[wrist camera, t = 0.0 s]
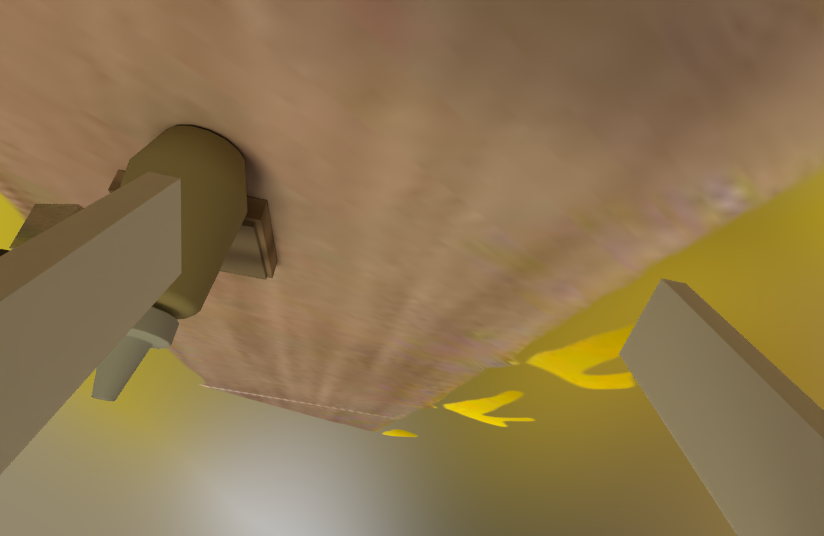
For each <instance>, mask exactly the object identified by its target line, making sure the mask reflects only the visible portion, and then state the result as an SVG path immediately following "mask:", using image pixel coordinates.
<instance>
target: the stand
mask: <svg viewBox="0 0 824 536" xmlns="http://www.w3.org/2000/svg"><path fill="white" fill-rule="evenodd" d="M124 174H125V171H121V170H118V172H117V174H116V176H115V178H114V180H113V181H112V183H111V185H110V187H109V189H108V190H109V192H110V193H112V192H114V191H115V190H117V189H119V188H120V185H121V183H122V180H123V177H124ZM276 264H277V257H276V251H275V245H274V239H273V233H272V227H271V221H270V216H269V210H268V204H267V201H266V200H261V199H256V198H251V197H247V214H246V216H245V218H244V220H243V223H242V225H241V227H240V229H239V231H238V233H237V235H236V237H235V239H234V241H233V243H232V245H231V248H230V250H229V252H228V254H227V256H226V258H225V260H224V262H223V264H222V266H221V268H220V271H223V272H228V273H234V274H239V275H244V276H250V277H255V278H260V279H266V278H267V277H269V278H273V275H274V271H275V268H276Z"/></svg>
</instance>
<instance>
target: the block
mask: <svg viewBox="0 0 824 536" xmlns="http://www.w3.org/2000/svg"><path fill="white" fill-rule="evenodd" d="M82 209H84V208H82V207H81V206H80V205H78V204H35V205H34V207H33V209H32V210H31V212H30V214H29V215H28V217H27V219H26V220H25V222H24V224H23V226H22V227H21V229H20V231H19V232H18V234H17V236H16V237H15V239H14V241H13V243H12V244H11V246H10V248H11V249H14V248H16V247H18V246H19V245H21V244H23V243H25V242H26V241H28V240H30V239H32V238H33V237H35V236H37V235H39V234H40V233H42V232H44V231H45V230H47V229H49V228H51V227H52V226H54V225H56V224H58V223H59V222H61V221H63V220H65V219H66V218H68V217H70V216H72V215H73V214H75V213H77V212H79V211H80V210H82Z"/></svg>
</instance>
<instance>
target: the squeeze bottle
mask: <svg viewBox="0 0 824 536" xmlns="http://www.w3.org/2000/svg"><path fill="white" fill-rule="evenodd" d="M148 171H149V172H154V173H158V174H163V175H168V176H173V177H178V178H181V274H180V275H179V276H178V278H177V279H176V280H175V281H174V282H173V283H172V284H171V285H170V286H169V288H168V289H167V290H166V291H165V292H164V293H163V294H162V295H161V296H160V298H159V299H158V300H157V301H156V302H155V303H154V304H153V305H152V306H151V308H150V309H149V310H148V311H147V312H146V313H145V314H144V315H143V317H142V318H141V319H140V320H139V321H138V322H137V323H136V324H135V325H134V327H133V328H132V329H131V330H130V331H129V332H128V333H127V334H126V335H125V337H124V338H123V339H122V340H121V341H120V342H119V343H118V344H117V345H116V347H115V348H114V349H113V350H112V351H111V352H110V353H109V354H108V355H107V357H106V358H105V359H104V360H103V361H102V362H101V363H100V364H99V366H98V367H97V369H96V375H95V380H94V386H93V392H92V397H93V398H97V399H102V400H107V401H115V400H116V398H117V397H118V395H119V394H120V392H121V391H122V389H123V388H124V386H125V385H126V383H127V382H128V380H129V379H130V377H131V376H132V374H133V373H134V371H135V370H136V368H137V367H138V365H139V364H140V362H141V361H142V359H143V358H144V356H145V355H146V353H147V352H148V350H149V349H150V348H157V349H160V348H167V347H169V346H170V345H171V344H172V341H173V339H174V336H175V333H176V331H177V328H178V325H179V323H178V321H177V319H185V318H188V317H190V316H193V315H195V314H197V313H198V312H199V311H200V310H201V308H202V306H203V304H204V302H205V300H206V298H207V296H208V293H209V291H210V289H211V287H212V285H213V283H214V281H215V279H216V277H217V275H218V273H219V271H220V268H221V266H222V264H223V262H224V260H225V258H226V256H227V254H228V252H229V250H230V248H231V245H232V243H233V241H234V239H235V237H236V235H237V233H238V231H239V229H240V227H241V225H242V223H243V220H244V218H245V216H246V214H247V190H246V168H245V160H244V158H243V157H242V155H241V154H240V152H239V151H238V150H237V149H236V148H235V147H234V146H233V145H231V144H230V143H229V142H228V141H227V140H226V139H224V138H222V137H220V136H218V135H216V134H214V133H212V132H210V131H208V130H204V129H200V128H197V127H193V126H174V127H172V128H170V129H167V130H165V131H164V132H163V133H162V134H160V135H159V136H158V137H157V138H156V139H154V140H153V141H152V142H151V143H149V144H148V145H147V146H146V147H145V148H143V149H142V150H141V151H140V152H138V153H137V154H136V155H135V156H134V157H132V158H131V159H130V160H129V163H128V166H127V168H126V171H125V174H124V177H123V180H122V183H121V185H120V187H122V186H124V185H126V184H127V183H129V182H131V181H133V180H134V179H136V178H138V177H140V176H141V175H143V174H145V173H147V172H148Z"/></svg>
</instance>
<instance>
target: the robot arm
mask: <svg viewBox="0 0 824 536" xmlns="http://www.w3.org/2000/svg"><path fill="white" fill-rule="evenodd" d="M180 274H181V178H178V177H173V176H168V175H163V174H158V173H154V172H149V171H148V172H147V173H145V174H143V175H141V176H140V177H138V178H136V179H134V180H133V181H131V182H129V183H127V184H126V185H124V186H122V187H120V188H119V189H117V190H115V191H114V192H112V193H110V194H108V195H107V196H105V197H103V198H101V199H100V200H98V201H96V202H94V203H93V204H91V205H89V206H87V207H86V208H84V209H82V210H80V211H79V212H77V213H75V214H73V215H72V216H70V217H68V218H66V219H65V220H63V221H61V222H59V223H58V224H56V225H54V226H52V227H51V228H49V229H47V230H45V231H44V232H42V233H40V234H39V235H37V236H35V237H33V238H32V239H30V240H28V241H26V242H25V243H23V244H21V245H19V246H18V247H16V248H14V249H12V250H11V251H8V250H3V249H0V475H1V473H2V472H3V471H4V470H5V469H6V468H7V467H8V466H9V465H10V463H11V462H12V461H13V460H14V459H15V458H16V457H17V456H18V455H19V453H20V452H21V451H22V450H23V449H24V448H25V447H26V446H27V445H28V443H29V442H30V441H31V440H32V439H33V438H34V437H35V436H36V434H37V433H38V432H39V431H40V430H41V429H42V428H43V427H44V426H45V425H46V423H47V422H48V421H49V420H50V419H51V418H52V417H53V416H54V414H55V413H56V412H57V411H58V410H59V409H60V408H61V407H62V406H63V404H64V403H65V402H66V401H67V400H68V399H69V398H70V397H71V396H72V394H73V393H74V392H75V391H76V390H77V389H78V388H79V387H80V385H81V384H82V383H83V382H84V381H85V380H86V379H87V378H88V376H90V374H91V373H92V372H93V371H94V370H95V369H96V368H97V367H98V366H99V364H100V363H101V362H102V361H103V360H104V359H105V358H106V357H107V355H108V354H109V353H110V352H111V351H112V350H113V349H114V348H115V347H116V345H117V344H118V343H119V342H120V341H121V340H122V339H123V338H124V337H125V335H126V334H127V333H128V332H129V331H130V330H131V329H132V328H133V327H134V325H135V324H136V323H137V322H138V321H139V320H140V319H141V318H142V317H143V315H144V314H145V313H146V312H147V311H148V310H149V309H150V308H151V306H152V305H153V304H154V303H155V302H156V301H157V300H158V299H159V298H160V296H161V295H162V294H163V293H164V292H165V291H166V290H167V289H168V288H169V286H170V285H171V284H172V283H173V282H174V281H175V280H176V279H177V278H178V276H179V275H180ZM619 355H620V356H621V358H622V359H623V361H624V362H625V364H626V365H627V367H628V368H629V370H630V372H631V373H632V375H633V376H634V378H635V379H636V381H637V382H638V384H639V385H640V387H641V388H642V390H643V391H644V393H645V395H646V396H647V397H648V399H649V401H650V402H651V404H652V405H653V407H654V408H655V410H656V411H657V413H658V415H659V416H660V418H661V419H662V421H663V422H664V424H665V425H666V427H667V428H668V430H669V432H670V433H671V434H672V436H673V437H674V439H675V441H676V442H677V444H678V445H679V447H680V448H681V450H682V451H683V453H684V454H685V456H686V458H687V459H688V461H689V462H690V464H691V465H692V467H693V468H694V470H695V471H696V473H697V474H698V476H699V478H700V479H701V481H702V482H703V484H704V485H705V487H706V488H707V490H708V491H709V493H710V495H711V496H712V498H713V499H714V501H715V502H716V504H717V505H718V507H719V508H720V510H721V511H722V513H723V514H724V516H725V518H726V519H727V521H728V522H729V524H730V525H731V527H732V528H733V530H734V531H735V533H736V535H737V536H824V410H823V409H821V408H820V407H819V406H818V405H817V404H816V403H815V402H814V401H813V400H812V399H811V398H809V397H808V396H807V395H806V394H805V393H804V392H803V391H802V390H801V389H800V388H799V387H798V386H796V385H795V384H794V383H793V382H792V381H791V380H790V379H789V378H788V377H787V376H786V375H785V374H784V373H782V372H781V371H780V370H779V369H778V368H777V367H776V366H775V365H774V364H773V363H771V362H770V361H769V360H768V359H767V358H766V357H765V356H764V355H763V354H762V353H761V352H759V350H757V349H756V348H755V347H754V346H753V345H752V344H751V343H750V342H749V341H748V340H747V339H746V338H744V337H743V336H742V335H741V334H740V333H739V332H738V331H737V330H736V329H735V328H734V327H732V326H731V325H730V324H729V323H728V322H727V321H726V320H725V319H724V318H723V317H722V316H721V315H720V314H718V313H717V312H716V311H715V310H714V309H713V308H712V307H711V306H710V305H709V304H708V303H706V302H705V301H704V300H703V299H702V298H701V297H700V296H699V295H698V294H697V293H695V291H693V290H692V289H691V288H690V287H689V286H688V285H687V284H686V283H680V282H676V281H671V280H666V279H661V280H660V282H659V284H658V286H657V287H656V289H655V291H654V293H653V295H652V296H651V298H650V300H649V302H648V303H647V305H646V307H645V309H644V310H643V312H642V314H641V316H640V318H639V319H638V321H637V323H636V325H635V326H634V328H633V330H632V332H631V334H630V335H629V337H628V339H627V341H626V342H625V344H624V346H623V348H622V350H621V351H620V353H619Z"/></svg>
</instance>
